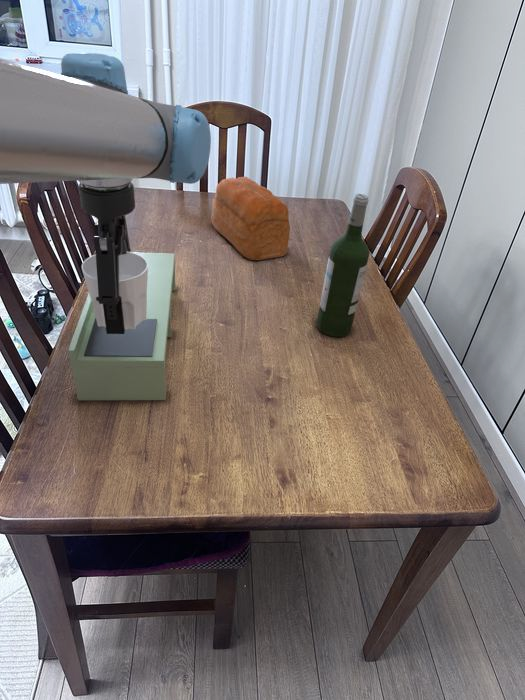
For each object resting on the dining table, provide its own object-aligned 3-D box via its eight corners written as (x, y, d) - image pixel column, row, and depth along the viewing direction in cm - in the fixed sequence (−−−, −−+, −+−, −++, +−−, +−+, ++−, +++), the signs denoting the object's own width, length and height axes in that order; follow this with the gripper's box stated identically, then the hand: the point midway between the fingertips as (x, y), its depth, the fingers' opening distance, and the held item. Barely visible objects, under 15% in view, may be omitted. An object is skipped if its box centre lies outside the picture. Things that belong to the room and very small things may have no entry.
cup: (86, 305, 84) (78, 253, 78) (144, 298, 88) (141, 248, 82) (93, 339, 77) (85, 284, 71) (156, 329, 80) (153, 277, 74)
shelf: (165, 400, 86) (163, 351, 79) (77, 400, 84) (67, 350, 77) (175, 287, 117) (174, 245, 110) (111, 285, 115) (106, 242, 108)
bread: (247, 263, 130) (252, 208, 121) (207, 223, 148) (208, 173, 138) (292, 255, 136) (299, 202, 127) (248, 218, 154) (251, 170, 144)
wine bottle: (355, 336, 107) (389, 204, 89) (321, 338, 105) (348, 203, 87) (344, 316, 113) (373, 189, 95) (312, 317, 111) (335, 188, 93)
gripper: (123, 215, 60) (135, 355, 73) (141, 159, 78) (148, 280, 91) (59, 212, 59) (84, 355, 73) (92, 156, 77) (107, 279, 90)
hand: (120, 313), depth 82 cm, fingers closed on cup, 10 cm apart
